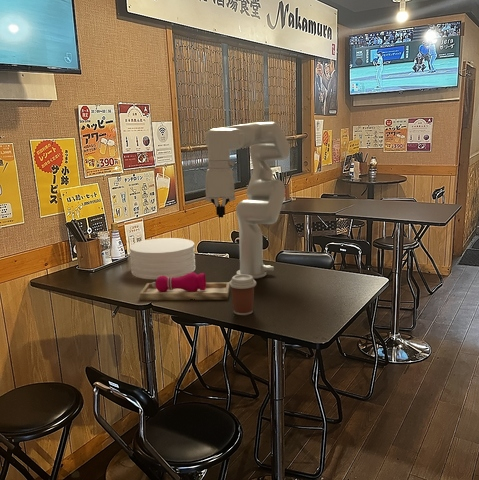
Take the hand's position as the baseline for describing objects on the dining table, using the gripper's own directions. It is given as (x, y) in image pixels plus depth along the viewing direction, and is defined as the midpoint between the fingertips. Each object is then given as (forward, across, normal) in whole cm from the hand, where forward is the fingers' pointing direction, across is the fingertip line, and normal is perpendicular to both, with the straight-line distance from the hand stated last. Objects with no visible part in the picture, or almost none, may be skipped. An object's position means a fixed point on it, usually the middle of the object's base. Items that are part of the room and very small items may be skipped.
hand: (220, 216), depth 172 cm
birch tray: (+29, +14, 0) cm, 32 cm away
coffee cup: (+29, -8, +18) cm, 35 cm away
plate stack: (+30, +29, -33) cm, 53 cm away
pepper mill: (+24, +7, 0) cm, 25 cm away
